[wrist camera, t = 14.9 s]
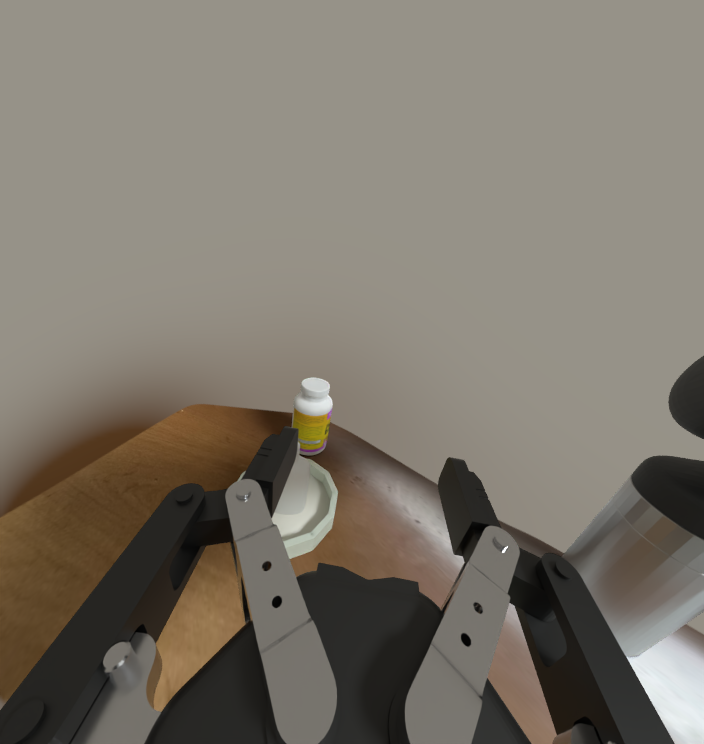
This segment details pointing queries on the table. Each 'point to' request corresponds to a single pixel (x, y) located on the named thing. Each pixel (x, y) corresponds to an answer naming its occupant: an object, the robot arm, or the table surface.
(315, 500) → the dish
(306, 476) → the eye dropper bottle
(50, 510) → the table surface
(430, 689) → the robot arm
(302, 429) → the supplement bottle
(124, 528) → the table surface
